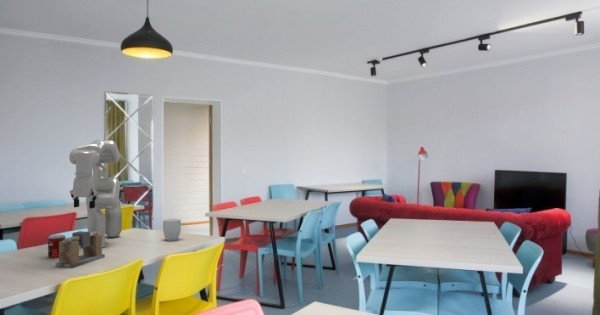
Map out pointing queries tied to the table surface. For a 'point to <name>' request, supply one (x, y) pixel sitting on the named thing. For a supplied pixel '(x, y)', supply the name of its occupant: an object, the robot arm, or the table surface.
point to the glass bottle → (113, 221)
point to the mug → (171, 228)
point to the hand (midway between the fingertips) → (84, 207)
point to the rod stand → (71, 251)
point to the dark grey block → (83, 238)
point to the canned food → (54, 245)
